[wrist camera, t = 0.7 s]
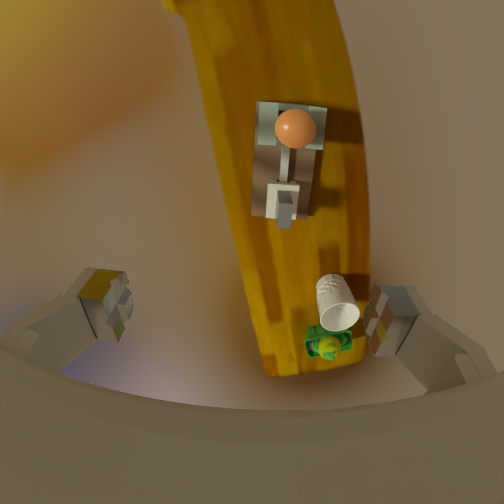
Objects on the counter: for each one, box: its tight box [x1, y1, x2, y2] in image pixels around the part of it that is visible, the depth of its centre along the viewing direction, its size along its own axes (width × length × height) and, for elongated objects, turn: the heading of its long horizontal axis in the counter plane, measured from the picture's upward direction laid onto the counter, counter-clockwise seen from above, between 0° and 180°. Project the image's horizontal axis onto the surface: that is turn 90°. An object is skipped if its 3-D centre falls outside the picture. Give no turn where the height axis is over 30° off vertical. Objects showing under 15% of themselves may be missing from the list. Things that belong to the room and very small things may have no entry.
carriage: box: [266, 179, 300, 229], centre depth 43 cm, size 6×5×8 cm
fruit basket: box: [305, 325, 352, 360], centre depth 62 cm, size 11×9×11 cm
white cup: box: [316, 274, 360, 331], centre depth 55 cm, size 8×8×10 cm
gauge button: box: [275, 109, 316, 149], centre depth 32 cm, size 5×5×4 cm
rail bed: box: [251, 101, 327, 219], centre depth 41 cm, size 20×10×8 cm, turn 177°
